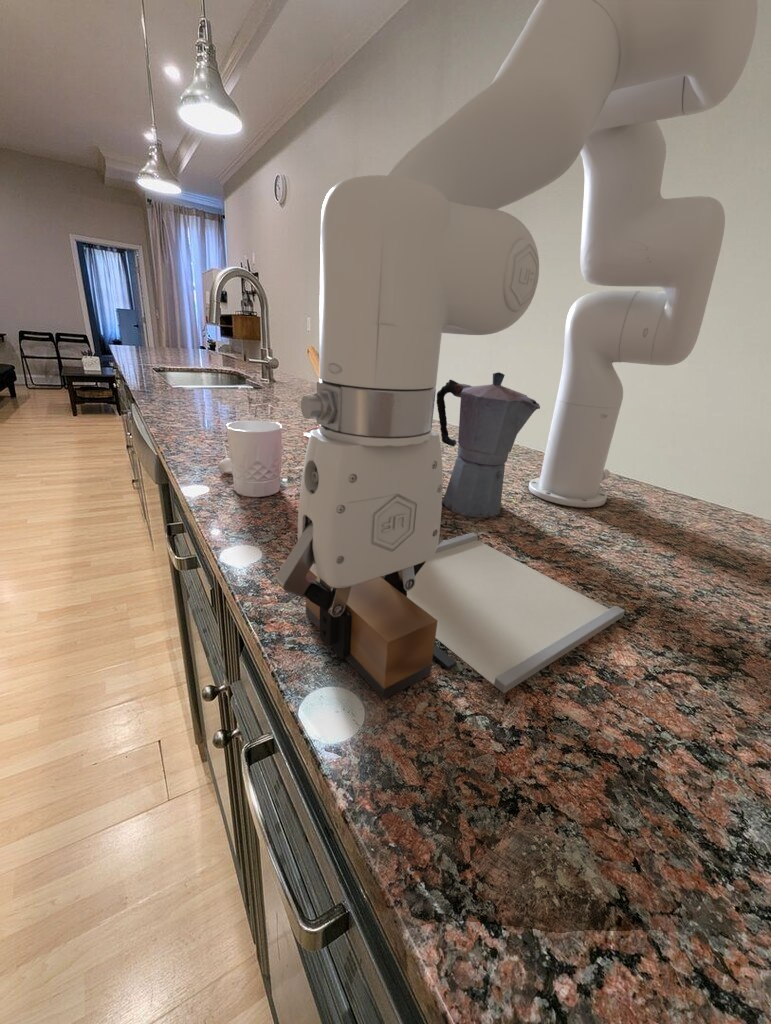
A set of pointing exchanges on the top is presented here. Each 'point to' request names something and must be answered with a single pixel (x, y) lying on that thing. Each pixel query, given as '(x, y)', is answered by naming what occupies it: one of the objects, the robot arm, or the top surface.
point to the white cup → (255, 456)
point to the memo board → (503, 611)
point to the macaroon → (225, 466)
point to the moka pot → (482, 443)
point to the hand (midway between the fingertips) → (363, 634)
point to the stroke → (443, 658)
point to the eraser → (385, 635)
